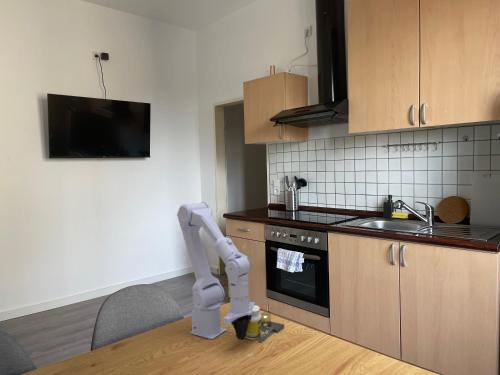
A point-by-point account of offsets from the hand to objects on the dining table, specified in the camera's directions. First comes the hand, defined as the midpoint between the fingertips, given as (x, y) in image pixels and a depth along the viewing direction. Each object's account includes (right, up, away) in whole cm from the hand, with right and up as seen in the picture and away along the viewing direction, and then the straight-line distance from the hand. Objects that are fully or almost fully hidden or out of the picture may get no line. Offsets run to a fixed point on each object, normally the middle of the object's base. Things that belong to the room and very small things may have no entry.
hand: (241, 338), depth 114 cm
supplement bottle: (+4, -1, +5) cm, 7 cm away
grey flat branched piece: (+6, -1, +9) cm, 11 cm away
